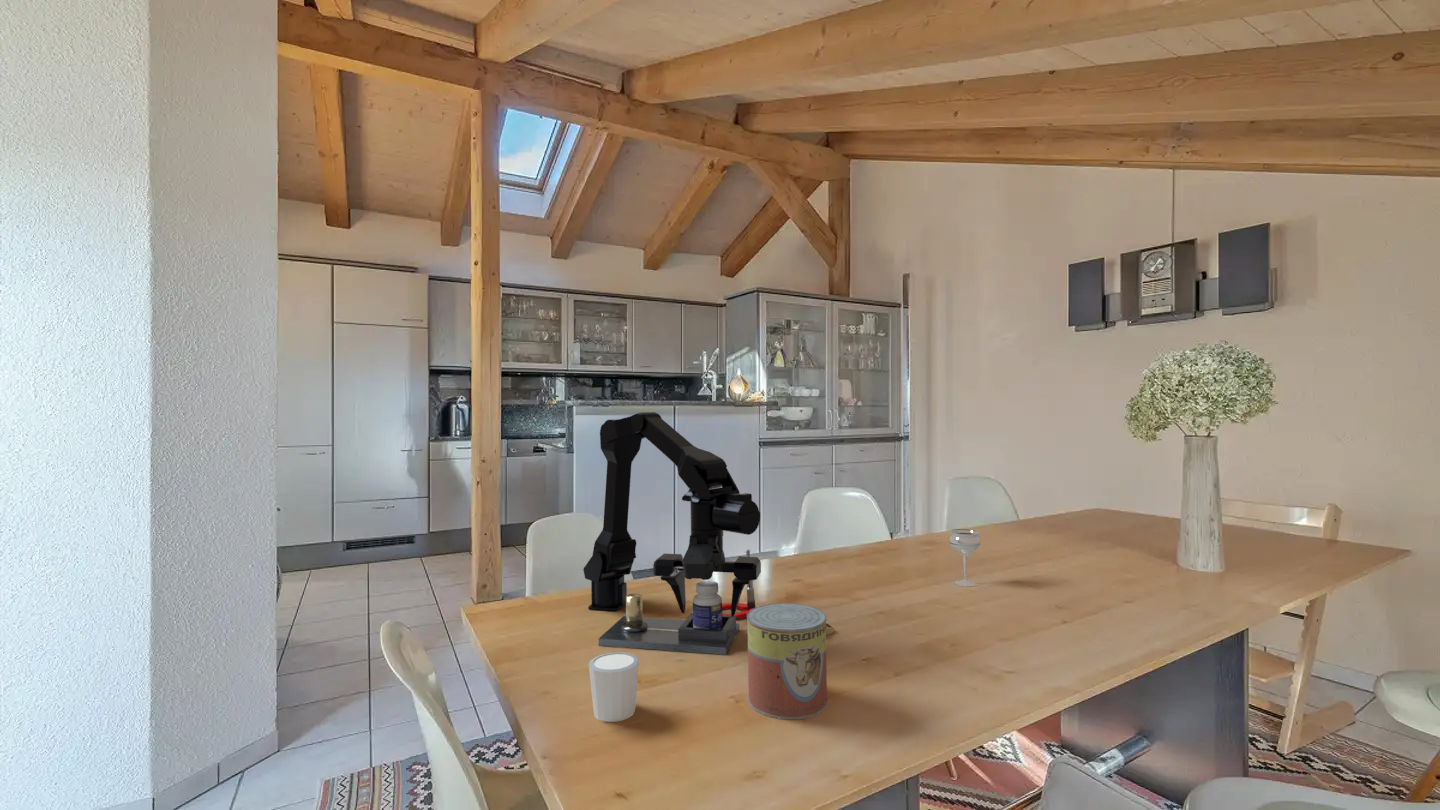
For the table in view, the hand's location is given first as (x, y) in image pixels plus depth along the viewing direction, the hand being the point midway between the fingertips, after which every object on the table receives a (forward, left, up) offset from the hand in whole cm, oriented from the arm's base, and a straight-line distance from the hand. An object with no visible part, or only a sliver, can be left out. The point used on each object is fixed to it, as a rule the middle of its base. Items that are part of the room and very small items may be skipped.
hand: (707, 614), depth 112 cm
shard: (+16, +9, -5) cm, 19 cm away
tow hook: (+2, +15, -5) cm, 16 cm away
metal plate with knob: (-7, 0, -5) cm, 8 cm away
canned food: (+17, -20, -5) cm, 26 cm away
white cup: (-6, -28, -5) cm, 29 cm away
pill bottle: (0, 0, -4) cm, 4 cm away
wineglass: (+51, +45, -5) cm, 68 cm away
